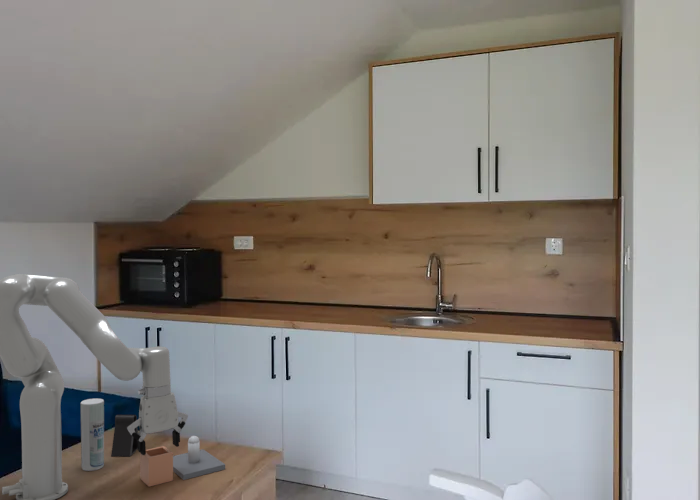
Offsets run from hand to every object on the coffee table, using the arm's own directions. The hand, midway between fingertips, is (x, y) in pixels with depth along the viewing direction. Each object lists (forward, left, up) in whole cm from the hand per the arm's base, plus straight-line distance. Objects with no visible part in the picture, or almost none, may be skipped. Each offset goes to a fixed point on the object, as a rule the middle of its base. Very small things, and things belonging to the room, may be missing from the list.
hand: (159, 449), depth 172 cm
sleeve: (-1, 0, -9) cm, 9 cm away
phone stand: (-1, +28, -9) cm, 30 cm away
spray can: (-13, +21, -9) cm, 26 cm away
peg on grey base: (+12, +3, -9) cm, 15 cm away
